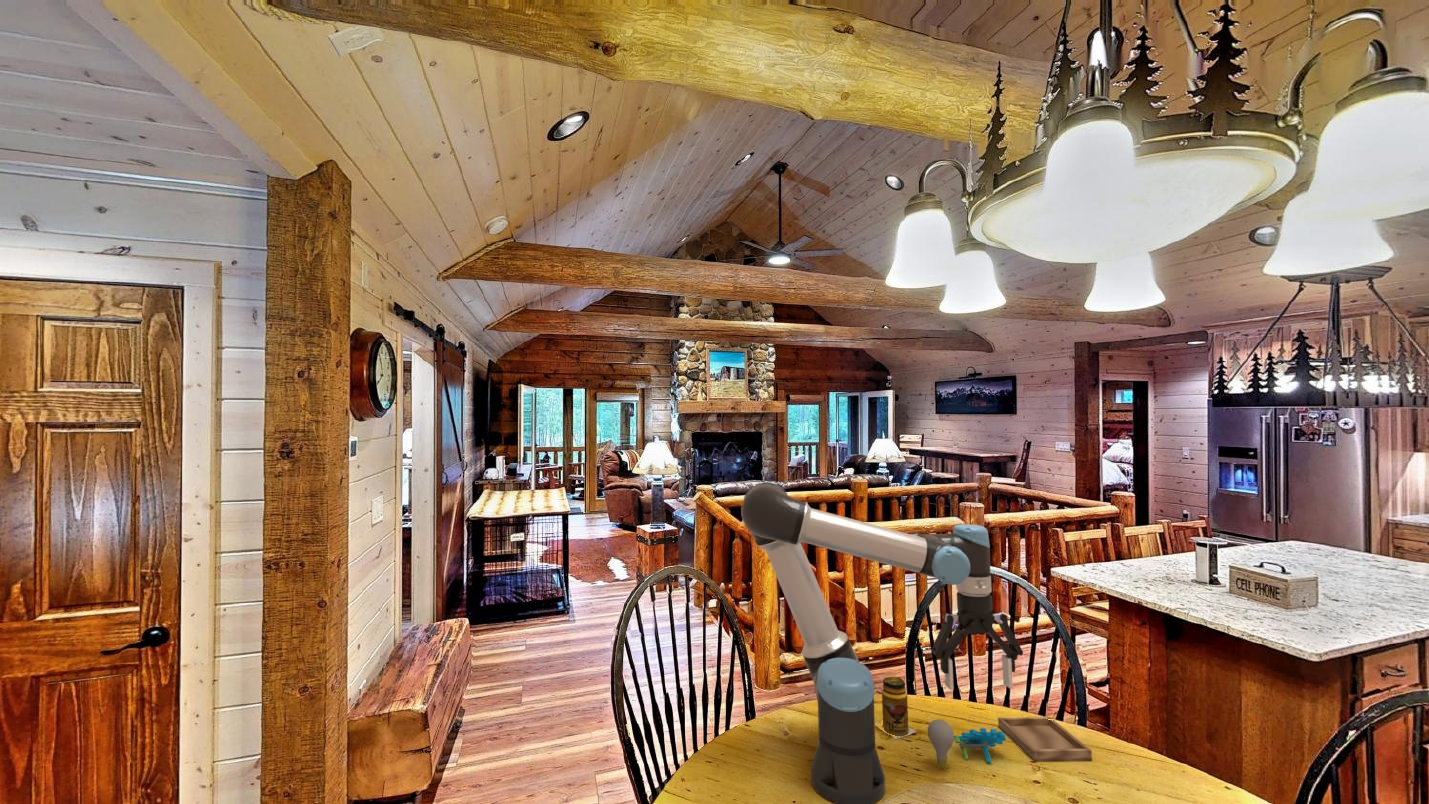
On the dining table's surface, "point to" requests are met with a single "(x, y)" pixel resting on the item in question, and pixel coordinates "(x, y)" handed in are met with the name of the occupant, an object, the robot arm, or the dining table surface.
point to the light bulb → (941, 740)
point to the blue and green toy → (980, 741)
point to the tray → (1044, 739)
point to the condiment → (895, 708)
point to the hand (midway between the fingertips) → (978, 686)
